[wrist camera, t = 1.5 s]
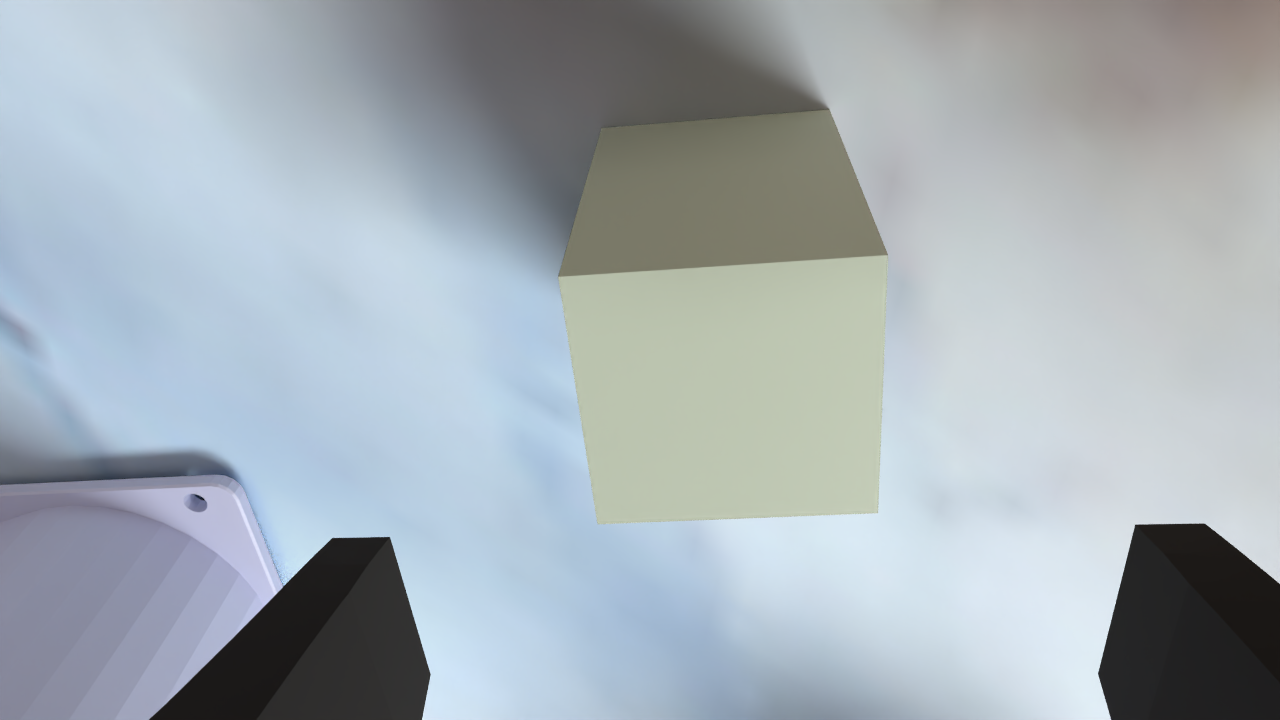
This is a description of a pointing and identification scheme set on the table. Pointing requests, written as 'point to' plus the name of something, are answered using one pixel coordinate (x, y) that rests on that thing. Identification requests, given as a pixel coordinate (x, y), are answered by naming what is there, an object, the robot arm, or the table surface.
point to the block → (727, 322)
